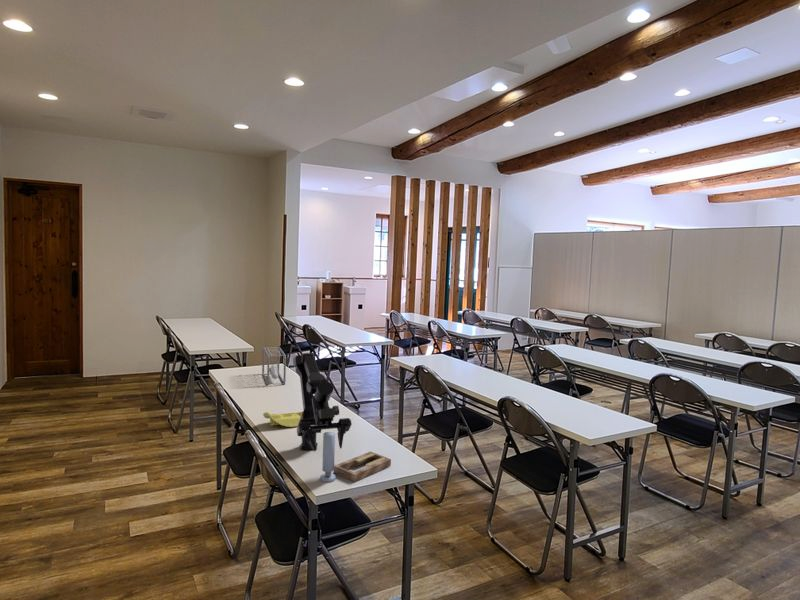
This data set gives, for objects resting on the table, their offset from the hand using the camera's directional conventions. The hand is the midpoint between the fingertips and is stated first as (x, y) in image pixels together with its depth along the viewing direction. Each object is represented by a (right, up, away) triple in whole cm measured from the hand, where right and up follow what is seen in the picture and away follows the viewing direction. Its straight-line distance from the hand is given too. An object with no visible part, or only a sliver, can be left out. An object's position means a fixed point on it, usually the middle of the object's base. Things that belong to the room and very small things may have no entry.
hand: (328, 449), depth 176 cm
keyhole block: (+11, -10, +9) cm, 18 cm away
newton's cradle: (-52, +3, +134) cm, 144 cm away
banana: (-27, -5, +55) cm, 61 cm away
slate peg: (0, -10, 0) cm, 10 cm away
